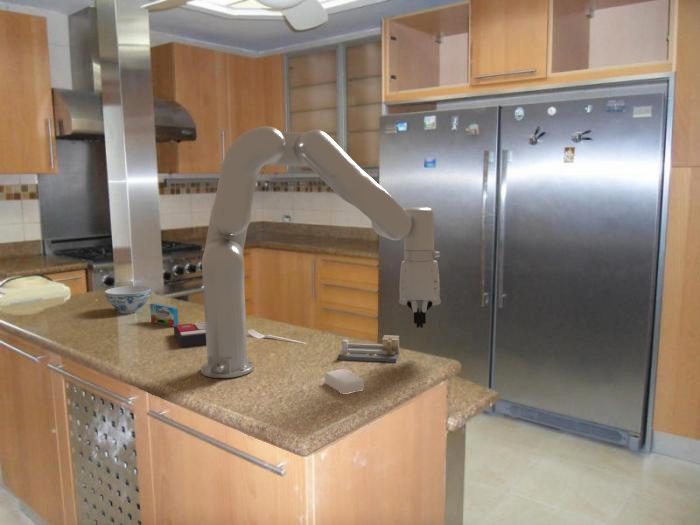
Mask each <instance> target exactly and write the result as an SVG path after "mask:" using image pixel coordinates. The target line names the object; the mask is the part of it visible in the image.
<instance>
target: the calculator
mask: <svg viewBox="0 0 700 525" xmlns="http://www.w3.org/2000/svg"><path fill="white" fill-rule="evenodd" d="M173 334H174V338H175V340H176V341H177V343H178V345H179V347H180V349H186V348H194V347H195V346H196V347H203V345H204V346H206V327H205V321H201V322H200V321H199V322H194V323H184V324H183V323H181V324H178V325H176V327H173ZM196 347H195V348H196Z"/></svg>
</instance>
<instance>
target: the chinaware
mask: <svg viewBox="0 0 700 525" xmlns="http://www.w3.org/2000/svg"><path fill="white" fill-rule="evenodd" d="M151 291H152V290H151V287H150V286H144V285H126V286H117V287H112V288H108V289H106V290H105V291H104V294H105V297H106V299H107V300H106V301H108V303H109V304H110V305H111V306H112V307H113V308H114V309H116V310H118V313H120V312H121V313H120V314H134V313H133V312H135V313H138V312H140V309H141V308H142V307H144V305H146V303H147V301H148V300H149V297H150V294H151ZM137 311H138V312H137Z"/></svg>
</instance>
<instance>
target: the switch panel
mask: <svg viewBox="0 0 700 525" xmlns="http://www.w3.org/2000/svg"><path fill="white" fill-rule="evenodd" d="M399 354H400V350H399V351H398V353H396V351H392V355H387V351H382V344H373V343H354V342H353V343H349V340H348V339H343V340H341V350H340V351H339V353H338V355H337V360H338V361H339V360H341V361H355V360H357V361H358V360H359V361H360V362H376V361H386V362H385V363H397V362H396V361H398V358H399ZM357 361H356V362H357ZM359 361H358V362H359Z"/></svg>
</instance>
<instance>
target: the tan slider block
mask: <svg viewBox="0 0 700 525" xmlns="http://www.w3.org/2000/svg"><path fill="white" fill-rule="evenodd" d="M381 340H382V344H381V345H382V351H387V355H392V351H396V353H398V351H399V352H400V335H392V334H391V335H390V334H389V335H388V334H386V335H385V334H384V335H383V337H382V339H381Z"/></svg>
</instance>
